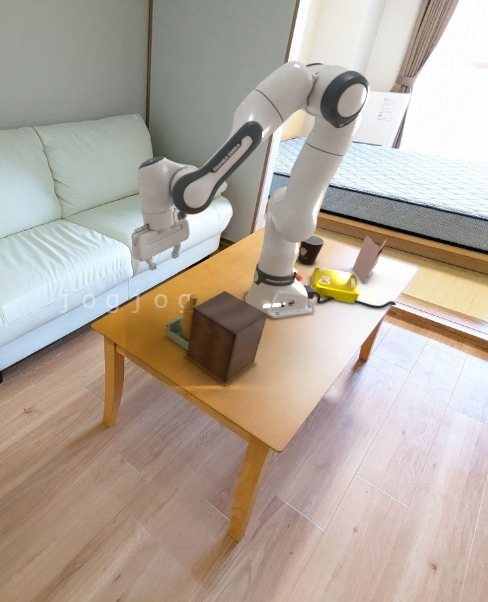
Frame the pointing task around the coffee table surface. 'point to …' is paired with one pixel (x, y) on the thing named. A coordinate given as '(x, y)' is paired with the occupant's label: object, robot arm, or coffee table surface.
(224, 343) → the cabinet
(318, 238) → the coffee mug
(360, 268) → the greeting card
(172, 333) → the green pull-out drawer
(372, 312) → the coffee table surface
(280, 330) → the coffee table surface
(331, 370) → the coffee table surface
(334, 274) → the element tile
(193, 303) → the bottle
